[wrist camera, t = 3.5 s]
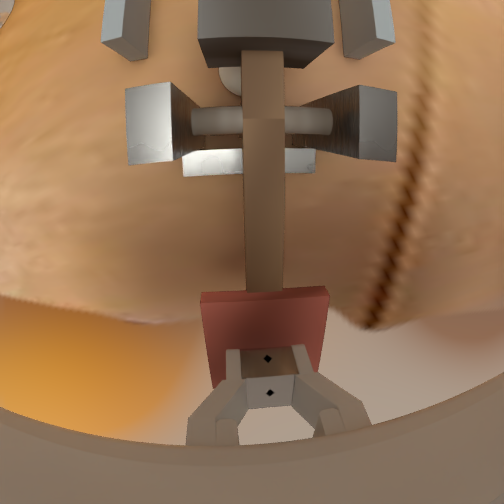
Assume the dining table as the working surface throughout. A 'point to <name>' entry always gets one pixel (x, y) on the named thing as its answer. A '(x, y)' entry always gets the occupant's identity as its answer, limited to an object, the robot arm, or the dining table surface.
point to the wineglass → (5, 10)
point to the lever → (263, 168)
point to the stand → (231, 160)
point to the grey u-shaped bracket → (351, 10)
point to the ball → (231, 79)
